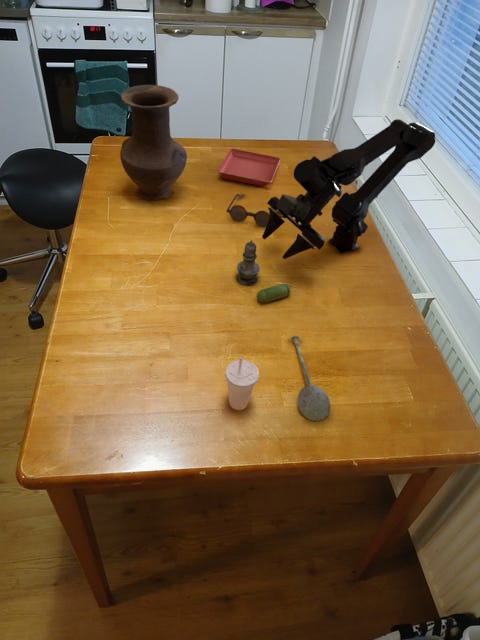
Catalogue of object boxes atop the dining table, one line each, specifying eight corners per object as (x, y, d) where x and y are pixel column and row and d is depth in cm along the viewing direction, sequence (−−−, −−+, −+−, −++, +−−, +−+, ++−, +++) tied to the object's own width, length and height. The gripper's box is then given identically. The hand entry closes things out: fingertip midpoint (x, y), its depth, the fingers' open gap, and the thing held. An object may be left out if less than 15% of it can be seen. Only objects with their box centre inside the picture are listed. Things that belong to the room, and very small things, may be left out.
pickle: (285, 289, 125) (287, 279, 122) (292, 297, 123) (294, 287, 120) (253, 298, 121) (255, 288, 119) (260, 306, 119) (261, 296, 117)
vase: (111, 189, 152) (99, 89, 130) (162, 171, 162) (159, 76, 140) (147, 217, 142) (140, 114, 121) (199, 197, 152) (201, 99, 131)
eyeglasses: (225, 219, 145) (226, 204, 141) (240, 194, 155) (241, 180, 152) (273, 230, 143) (275, 215, 139) (284, 205, 153) (286, 190, 149)
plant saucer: (279, 165, 171) (281, 156, 168) (270, 191, 158) (271, 181, 156) (229, 156, 173) (230, 147, 170) (216, 180, 160) (217, 171, 158)
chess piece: (247, 289, 123) (252, 250, 115) (231, 277, 126) (234, 239, 118) (262, 278, 127) (268, 241, 118) (246, 268, 129) (250, 230, 121)
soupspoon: (299, 424, 97) (331, 423, 98) (303, 415, 94) (335, 414, 96) (280, 340, 112) (308, 339, 113) (283, 330, 109) (311, 330, 110)
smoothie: (221, 389, 101) (225, 344, 91) (252, 389, 101) (259, 344, 91) (223, 416, 96) (227, 371, 86) (255, 415, 97) (263, 371, 87)
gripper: (277, 166, 120) (236, 215, 123) (324, 204, 109) (278, 257, 112) (298, 188, 129) (259, 233, 132) (343, 225, 118) (300, 273, 121)
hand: (273, 248), depth 124 cm, fingers open, 9 cm apart
